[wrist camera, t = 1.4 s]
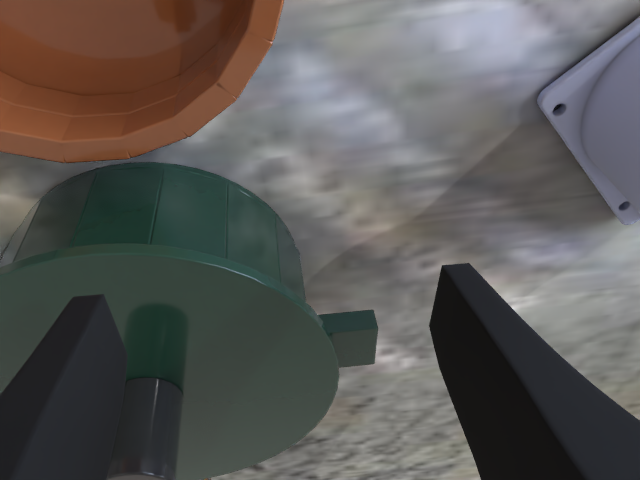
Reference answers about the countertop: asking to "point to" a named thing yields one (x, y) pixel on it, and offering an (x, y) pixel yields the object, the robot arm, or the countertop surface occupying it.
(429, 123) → the countertop surface
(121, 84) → the pan
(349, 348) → the pot
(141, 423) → the lid
